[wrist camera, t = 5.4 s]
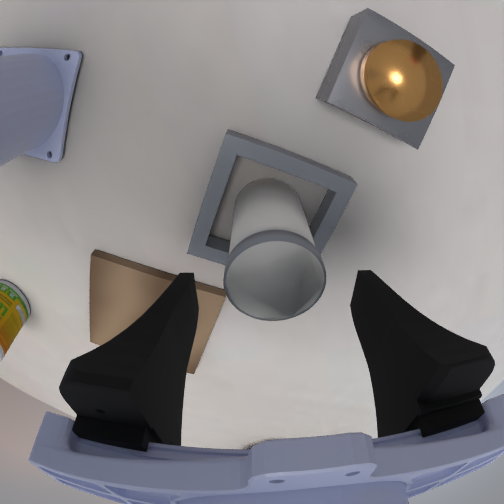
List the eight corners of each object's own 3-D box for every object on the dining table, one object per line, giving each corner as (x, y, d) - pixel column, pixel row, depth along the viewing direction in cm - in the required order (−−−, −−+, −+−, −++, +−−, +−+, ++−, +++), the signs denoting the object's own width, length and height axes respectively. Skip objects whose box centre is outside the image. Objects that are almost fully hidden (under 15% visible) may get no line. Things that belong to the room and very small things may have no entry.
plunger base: (316, 97, 17) (327, 101, 14) (351, 16, 14) (367, 8, 11) (396, 138, 18) (417, 149, 15) (429, 63, 15) (454, 65, 12)
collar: (190, 242, 22) (187, 253, 21) (227, 129, 18) (225, 133, 16) (298, 275, 23) (301, 287, 22) (350, 176, 19) (357, 184, 18)
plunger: (337, 92, 15) (354, 96, 13) (364, 30, 13) (385, 23, 11) (399, 125, 16) (423, 136, 14) (424, 67, 14) (452, 69, 11)
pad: (93, 336, 28) (90, 341, 27) (94, 249, 22) (90, 254, 22) (194, 367, 30) (193, 374, 29) (226, 290, 24) (225, 297, 24)
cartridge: (224, 227, 21) (211, 306, 15) (246, 166, 19) (243, 224, 12) (286, 247, 22) (299, 329, 15) (313, 191, 20) (344, 258, 13)
